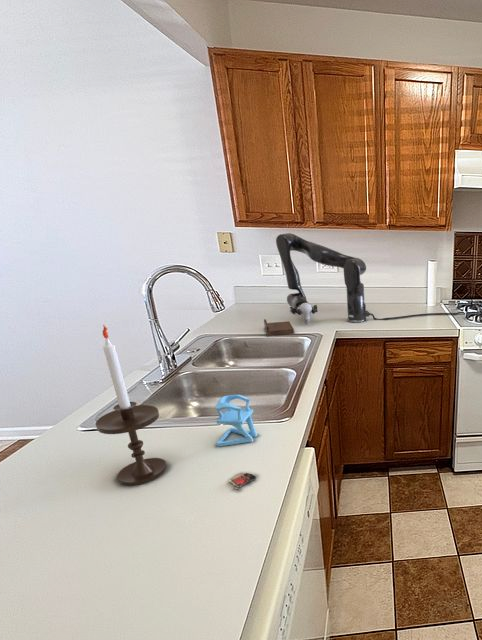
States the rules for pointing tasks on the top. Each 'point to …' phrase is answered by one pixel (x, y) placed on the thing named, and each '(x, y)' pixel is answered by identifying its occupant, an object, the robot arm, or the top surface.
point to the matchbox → (242, 479)
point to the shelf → (278, 328)
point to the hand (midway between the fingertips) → (306, 312)
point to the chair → (235, 420)
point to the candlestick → (129, 425)
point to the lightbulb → (306, 311)
